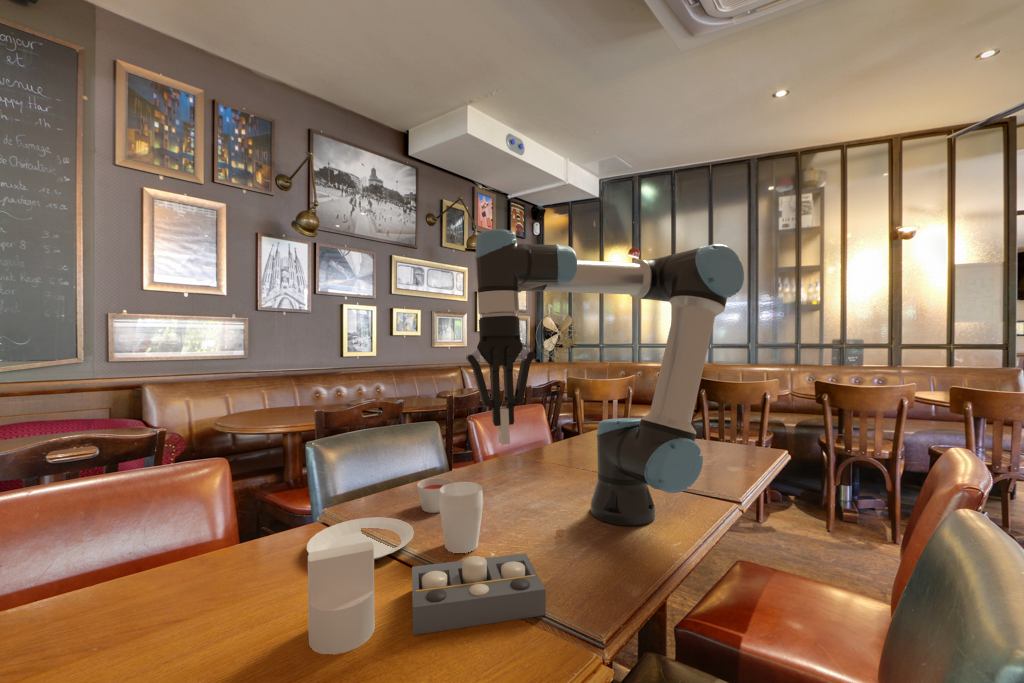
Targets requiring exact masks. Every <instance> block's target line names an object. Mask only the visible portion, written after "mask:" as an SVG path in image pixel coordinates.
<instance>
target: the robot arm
mask: <svg viewBox="0 0 1024 683" xmlns="http://www.w3.org/2000/svg"><path fill="white" fill-rule="evenodd" d="M474 258H475V265H476V266H475V267H476V280H477V281H476V282H477V305H478V306H477V307H478V308H477V310H478V314H479V315H480V316H481V317H479V319H478V330H479V331H478V332H479V341H478V344H477V348H476V350H474V351H473V352H471V353H470V354H467V355H466V356H465V359H466V361H467V362H468V364H469V365H470V366H471V370H472V372H473V375H474V376H473V377H474V378H475V379H474V380H475V382H476V386H477V389H478V393H479V397H480V400H481V404H483V405H484V406H485V407H489V408H491V412H492V415H491V416H492V424H493V426H495V427H497V429H498V443H500V444H501V445H503V446H504V445H511V440H510V436H511V435H510V425H512V426H513V425H514V423H515V410H514V408H515V407H516V406H517V405H519V404H522V403H523V402H524V399H525V394H526V388H527V383H528V378H529V372H530V366H531V364H532V362H533V361H534V359H535V356H536V354H535V352H534V351H530V350H529V349H527V348H525V347H524V343H523V342H522V340H521V330H520V328H521V327H520V325H521V324H520V317H519V316H517V314H519V312H520V307H519V305H520V303H519V300H520V299H519V293H522V292H549V293H550V292H552V293H553V292H554V293H555V292H557V293H578V294H579V293H581V294H607V295H608V294H609V295H629V296H630V297H632V299H637V300H647V301H649V300H650V301H657V302H658V301H659V302H667V303H669V304H670V305H671V306H672V307H673V315H672V317H671V318H672V319H671V324H670V328H669V331H668V335H667V340H666V345H665V349H664V351H663V352H664V353H663V356H662V361H661V365H660V368H659V373H658V377H657V378H658V379H657V381H656V385H655V386H656V387H655V390H654V394H653V398H652V403H651V406H650V407H651V408H650V409H649V410H650V411H649V412H648V413H647V414H646V415H644V416H642V417H624V418H620V417H619V418H608V419H602V420H601V421H599V422H598V425H597V431H596V432H597V433H596V437H597V441H596V442H597V443H596V444H597V482H596V485H595V488H594V491H593V495H592V498H591V501H590V513H591V515H592V516H593V517H594V518H595V519H597V520H599V521H602V522H604V523H607V524H610V525H611V524H612V525H617V526H625V527H626V526H628V527H631V526H635V527H636V526H642V525H647V524H649V523H651V522H653V521H654V520H655V518H656V508H655V507H656V506H655V504H654V500H653V497H652V494H651V492H650V488H649V487H651V488H652V489H654V490H659V491H662V492H665V493H667V494H668V493H669V494H678V493H681V492H684V491H686V490H687V489H688V488H690V487H692V485H694V484H695V482H697V480H698V478H699V477H700V475H701V473H702V469H703V465H704V457H703V454H702V453H701V452H702V450H701V447H700V446H699V445H698V444H697V443H696V437H697V431H696V429H695V428H694V426H693V425H692V420H693V416H694V411H695V408H696V407H695V406H696V402H697V397H698V394H699V389H700V384H701V380H702V376H703V372H704V367H705V364H706V358H707V354H708V350H709V346H710V341H711V337H712V332H713V329H714V323H715V320H716V317H717V316H719V315H720V314H722V313H724V311H725V309H726V305H727V300H728V298H732V297H733V296H735V295H736V294H737V293H739V292H740V291H741V290H742V287H743V286H744V281H745V270H744V267H743V263H742V261H741V260H740V258H739V255H738V254H737V252H735V251H734V250H733V249H732V248H731V247H729V246H727V245H725V244H721V243H715V244H710V245H707V244H704V245H702V246H700V247H697V248H693V249H690V250H685V251H681V252H677V253H674V254H669V255H665V256H661V257H657V258H652V259H650V258H649V259H636V260H634V261H633V262H619V261H618V262H616V261H602V260H585V259H578V257H577V254H576V251H575V250H574V249H573V247H571V246H569V245H562V244H558V243H555V244H540V243H539V244H538V243H537V244H534V243H522V242H518V239H517V235H516V233H515V232H514V231H513V230H508V229H504V228H503V229H502V228H499V229H497V228H496V229H495V228H494V229H488V230H484V231H482V232H480V233H479V234H477V237H476V239H475V257H474ZM519 355H520V357H519ZM481 357H482V358H483V359H484V361H485V362H486V363H487V364H488V365H489V374H490V375H489V376H490V377H489V378H490V396H489V392H488V389H487V385H486V380H485V378H484V374H483V370H482V367H481V365H480V362H481ZM518 357H519V358H520V360H521V361H520V364H519V370H518V375H517V381H516V385H515V392H514V375H513V374H514V372H513V371H514V363H516V360H517V359H518ZM501 366H502V370H503V389H504V390H503V392H504V394H503V395H504V406H501V389H500V388H501V387H500V386H501V385H500V384H501V383H500V368H501Z"/></svg>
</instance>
